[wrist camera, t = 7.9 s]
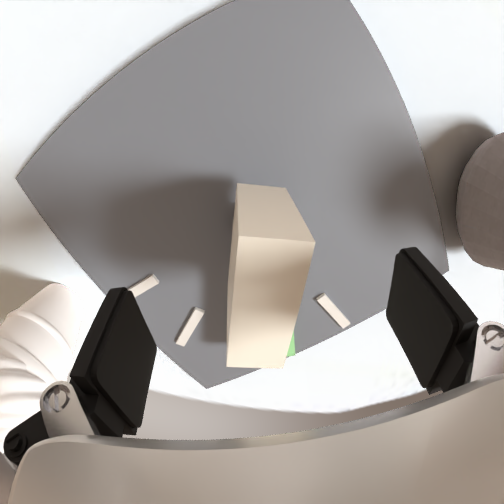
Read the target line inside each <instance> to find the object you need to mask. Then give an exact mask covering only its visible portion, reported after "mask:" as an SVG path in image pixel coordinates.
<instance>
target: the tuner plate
mask: <svg viewBox="0 0 504 504" xmlns="http://www.w3.org/2000/svg"><path fill="white" fill-rule="evenodd" d="M16 180H17V181H18V183H19V184H20V186H21V187H22V189H23V190H24V192H25V193H26V195H27V196H28V198H29V199H30V201H31V202H32V204H33V205H34V207H35V208H36V209H37V211H38V212H39V214H40V215H41V216H42V218H43V219H44V221H45V222H46V223H47V225H48V226H49V227H50V229H51V230H52V231H53V233H54V234H55V235H56V236H57V238H58V239H59V240H60V242H61V243H62V244H63V245H64V247H65V248H66V249H67V250H68V252H69V253H70V254H71V255H72V257H73V258H74V259H75V260H76V261H77V263H78V264H79V265H80V266H81V267H82V269H83V270H84V271H85V272H86V273H87V274H88V276H89V277H90V278H91V279H92V280H93V281H94V282H95V283H96V285H97V286H98V287H99V288H100V289H101V290H102V291H103V292H104V293H105V295H107V293H108V291H109V290H110V289H111V288H119V287H126V288H127V289H128V291H129V290H130V291H132V293H133V295H134V297H135V299H136V302H137V304H138V306H139V308H140V311H141V313H142V315H143V317H144V319H145V322H146V324H147V326H148V328H149V330H150V332H151V334H152V336H153V338H154V340H155V343H156V346H157V347H158V348H160V349H161V350H162V351H163V352H164V353H165V354H166V355H167V356H168V357H169V358H171V359H172V360H173V361H174V362H175V363H176V364H177V365H179V366H180V367H181V368H182V369H183V370H184V371H185V372H187V373H188V374H189V375H190V376H191V377H193V378H194V379H195V380H196V381H197V382H199V383H200V384H201V385H202V386H204V387H205V388H206V389H207V388H210V387H213V386H216V385H219V384H222V383H224V382H227V381H230V380H233V379H235V378H238V377H241V376H243V375H246V374H248V373H251V372H253V371H256V370H258V369H261V368H242V367H226V360H227V294H228V276H229V264H230V253H231V241H232V220H233V217H234V209H235V199H236V189H237V183H241V184H252V185H263V186H273V187H282V188H286V189H287V191H288V193H289V195H290V196H291V198H292V200H293V202H294V204H295V205H296V207H297V209H298V211H299V213H300V214H301V216H302V218H303V220H304V222H305V224H306V225H307V227H308V229H309V231H310V233H311V235H312V237H313V238H314V240H315V246H314V251H313V255H312V259H311V264H310V268H309V272H308V276H307V280H306V284H305V289H304V293H303V296H302V300H301V304H300V308H299V312H298V316H297V320H296V323H295V327H294V331H293V334H292V338H291V342H290V345H289V349H288V352H287V356H286V358H287V357H289V356H294V355H295V354H296V353H299V352H301V351H303V350H305V349H307V348H310V347H312V346H314V345H316V344H318V343H320V342H322V341H324V340H327V339H329V338H331V337H333V336H335V335H337V334H339V333H341V332H343V331H345V330H347V329H349V328H351V327H353V326H355V325H357V324H358V323H360V322H362V321H364V320H366V319H368V318H370V317H372V316H374V315H375V314H377V313H379V312H381V311H383V310H384V309H386V308H387V304H388V299H389V293H390V287H391V282H392V275H393V269H394V262H395V256H396V254H397V253H399V251H400V250H401V249H403V248H409V247H417V248H418V249H419V250H420V251H421V252H422V254H423V255H424V256H425V257H426V258H427V259H428V260H429V261H430V262H431V263H432V264H433V266H434V267H435V268H436V269H437V270H438V271H439V272H440V273H441V275H443V274H444V273H446V272H447V271H449V266H448V259H447V253H446V247H445V241H444V235H443V230H442V225H441V221H440V216H439V211H438V207H437V203H436V199H435V195H434V191H433V187H432V183H431V180H430V176H429V173H428V169H427V166H426V163H425V159H424V156H423V153H422V150H421V147H420V144H419V141H418V138H417V135H416V133H415V130H414V127H413V124H412V122H411V119H410V116H409V114H408V111H407V109H406V106H405V104H404V102H403V99H402V97H401V95H400V92H399V90H398V88H397V85H396V83H395V81H394V79H393V77H392V75H391V73H390V70H389V68H388V66H387V64H386V62H385V60H384V58H383V56H382V54H381V53H380V51H379V49H378V47H377V45H376V43H375V41H374V40H373V38H372V36H371V34H370V33H369V31H368V29H367V27H366V26H365V24H364V22H363V21H362V19H361V17H360V16H359V14H358V13H357V11H356V9H355V8H354V6H353V5H352V3H351V2H350V0H234V1H232V2H230V3H228V4H226V5H224V6H222V7H220V8H218V9H216V10H214V11H212V12H210V13H208V14H207V15H205V16H203V17H201V18H199V19H197V20H196V21H194V22H192V23H190V24H189V25H187V26H185V27H184V28H182V29H180V30H179V31H177V32H175V33H174V34H172V35H171V36H169V37H168V38H166V39H164V40H163V41H161V42H160V43H158V44H157V45H155V46H154V47H152V48H151V49H150V50H148V51H147V52H145V53H144V54H143V55H141V56H140V57H138V58H137V59H136V60H134V61H133V62H132V63H130V64H129V65H128V66H126V67H125V68H124V69H123V70H121V71H120V72H119V73H117V74H116V75H115V76H114V77H113V78H111V79H110V80H109V81H108V82H107V83H105V84H104V85H103V86H102V87H101V88H100V89H98V90H97V91H96V92H95V93H94V94H93V95H92V96H90V97H89V98H88V99H87V100H86V101H85V102H84V103H83V104H82V105H81V106H80V107H79V108H78V109H77V110H76V111H75V112H73V113H72V114H71V115H70V116H69V117H68V118H67V119H66V120H65V121H64V123H63V124H62V125H61V126H60V127H59V128H58V129H57V130H56V131H55V132H54V133H53V134H52V135H51V136H50V137H49V139H48V140H47V141H46V142H45V143H44V144H43V145H42V146H41V148H40V149H39V150H38V151H37V152H36V153H35V155H34V156H33V157H32V158H31V159H30V161H29V162H28V163H27V164H26V166H25V167H24V168H23V169H22V171H21V172H20V173H19V175H18V176H17V177H16Z"/></svg>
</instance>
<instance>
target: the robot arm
mask: <svg viewBox="0 0 504 504" xmlns="http://www.w3.org/2000/svg"><path fill="white" fill-rule="evenodd" d="M386 316H387V320H388V322H389V323H390V325H391V327H392V329H393V331H394V333H395V335H396V336H397V338H398V340H399V342H400V344H401V346H402V348H403V350H404V352H405V354H406V356H407V358H408V360H409V362H410V364H411V366H412V368H413V370H414V372H415V374H416V376H417V378H418V380H419V382H420V384H421V386H422V387H423V388H426V389H427V391H428V393H429V395H430V394H432V393H435V392H438V391H440V390H442V391H443V393H442V394H439V395H436V396H433V397H431V398H428V399H425V400H422V401H419V402H416V403H413V404H411V405H407V406H404V407H401V408H398V409H394V410H391V411H388V412H385V413H381V414H377V415H374V416H370V417H366V418H362V419H358V420H354V421H350V422H345V423H341V424H336V425H332V426H327V427H322V428H316V429H311V430H305V431H299V432H292V433H285V434H278V435H269V436H260V437H250V438H237V439H220V440H156V439H135V438H122V435H123V434H126V435H136V432H137V428H139V427H140V426H141V424H142V419H143V414H144V409H145V403H146V398H147V393H148V389H149V384H150V379H151V374H152V370H153V365H154V361H155V356H156V352H157V347H156V343H155V340H154V338H153V336H152V334H151V332H150V330H149V328H148V326H147V324H146V322H145V319H144V317H143V315H142V313H141V311H140V308H139V306H138V304H137V302H136V299H135V297H134V295H133V293H132V291H130V290H129V291H128V289H127V288H126V287H119V288H111V289H110V290H109V291H108V293H107V295H106V297H105V299H104V301H103V303H102V305H101V307H100V309H99V311H98V313H97V315H96V317H95V319H94V321H93V323H92V325H91V328H90V330H89V332H88V334H87V336H86V338H85V341H84V343H83V345H82V347H81V350H80V352H79V354H78V356H77V359H76V361H75V363H74V366H73V368H72V371H71V373H70V377H71V380H70V382H69V383H68V382H67V381H56V382H54V383H52V384H50V385H49V386H48V387H47V388H46V389H45V390H44V391H43V393H42V395H41V397H40V402H39V404H40V411H38V412H37V413H35V414H34V415H32V416H31V417H30V418H28V419H27V420H25V421H24V422H22V423H21V424H19V425H18V426H16V427H15V428H13V429H12V430H11V431H9V432H8V434H7V435H6V437H5V440H4V444H3V449H4V453H2V452H1V451H0V504H504V325H502V324H500V323H498V322H493V321H489V322H485V323H483V324H481V325H480V326H479V325H478V324H477V320H478V318H477V317H476V316H475V314H474V313H473V312H472V311H471V309H470V308H469V307H468V306H467V304H466V303H465V302H464V301H463V299H462V298H461V297H460V296H459V294H458V293H457V292H456V291H455V290H454V288H453V287H452V286H451V285H450V284H449V283H448V281H447V280H446V279H445V278H444V277H443V276H442V275H441V273H440V272H439V271H438V270H437V269H436V268H435V267H434V266H433V264H432V263H431V262H430V261H429V260H428V259H427V258H426V257H425V256H424V255H423V254H422V252H421V251H420V250H419V249H418V248H417V247H409V248H403V249H401V250H400V251H399V253H397V254H396V256H395V262H394V269H393V275H392V282H391V287H390V293H389V299H388V304H387V309H386Z"/></svg>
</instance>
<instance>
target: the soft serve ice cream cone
mask: <svg viewBox="0 0 504 504" xmlns="http://www.w3.org/2000/svg"><path fill="white" fill-rule="evenodd" d="M82 316H83V307H82V303H81V301H80V299H79V298H78V296H77V295H76V294H75V293H74V292H73V291H72V290H71V289H69V288H68V287H66V286H64V285H62V284H58V283H52V284H49V285H47V286H46V287H45V288H43V289H42V290H41V291H40V292H38V293H37V294H36V295H34V296H33V297H32V298H30V299H29V300H28V301H27V302H25V303H24V304H23V305H22V306H20V307H19V308H18V309H17V310H14V311H11V312H10V313H9V314H7V316H6V318H5V321H4V322H3V323H2V324H1V325H0V451H1V452H2V453H4V449H3V444H4V440H5V437H6V435H7V434H8V432H9V431H11V430H12V429H13V428H15V427H16V426H18V425H19V424H21V423H22V422H24V421H25V420H27V419H28V418H30V417H31V416H32V415H34V414H35V413H37V412H38V411H40V404H39V402H40V397H41V395H42V393H43V391H44V390H45V389H46V388H47V387H48V386H49V385H50V384H52V383H54V382H56V381H67V377H68V374H69V372H70V370H71V369H72V367H73V363H74V358H73V354H74V349H75V345H76V340H77V336H78V332H79V328H80V324H81V320H82Z"/></svg>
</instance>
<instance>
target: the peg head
mask: <svg viewBox="0 0 504 504" xmlns="http://www.w3.org/2000/svg"><path fill="white" fill-rule="evenodd" d="M314 246H315V240H314V238H313V237H312V235H311V233H310V231H309V229H308V227H307V225H306V224H305V222H304V220H303V218H302V216H301V214H300V213H299V211H298V209H297V207H296V205H295V204H294V202H293V200H292V198H291V196H290V195H289V193H288V191H287V189H286V188H282V187H273V186H263V185H252V184H241V183H237V189H236V199H235V209H234V217H233V220H232V241H231V253H230V264H229V276H228V294H227V360H226V367H242V368H283V366H284V363H285V359H286V356H287V352H288V349H289V345H290V342H291V338H292V334H293V331H294V327H295V323H296V320H297V316H298V312H299V308H300V304H301V300H302V296H303V293H304V289H305V284H306V280H307V276H308V272H309V268H310V264H311V259H312V255H313V251H314Z"/></svg>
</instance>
